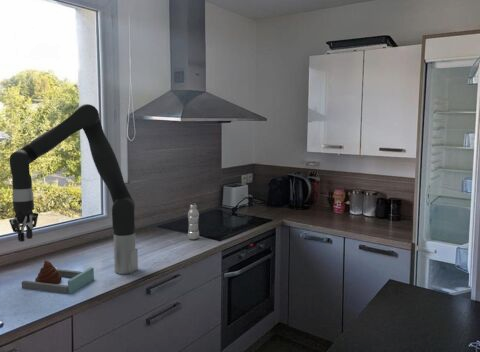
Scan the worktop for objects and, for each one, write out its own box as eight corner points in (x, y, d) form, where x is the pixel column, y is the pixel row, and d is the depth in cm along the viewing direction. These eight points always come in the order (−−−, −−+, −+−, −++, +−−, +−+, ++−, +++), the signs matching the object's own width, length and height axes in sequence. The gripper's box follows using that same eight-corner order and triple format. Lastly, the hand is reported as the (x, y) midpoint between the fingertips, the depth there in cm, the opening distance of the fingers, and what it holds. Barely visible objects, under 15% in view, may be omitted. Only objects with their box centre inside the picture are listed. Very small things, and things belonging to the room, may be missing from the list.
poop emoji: (31, 286, 166) (30, 264, 165) (40, 278, 174) (39, 257, 173) (57, 286, 167) (56, 264, 165) (64, 278, 175) (63, 257, 174)
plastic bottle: (188, 241, 230) (188, 206, 228) (187, 237, 237) (186, 203, 234) (200, 240, 232) (200, 205, 229) (198, 237, 238) (197, 203, 236)
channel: (94, 278, 174) (94, 267, 174) (70, 293, 159) (70, 281, 158) (49, 273, 180) (48, 262, 179) (21, 287, 164) (21, 275, 164)
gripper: (17, 202, 161) (20, 245, 163) (43, 196, 174) (45, 236, 177) (1, 201, 162) (4, 244, 165) (28, 195, 176) (30, 234, 178)
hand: (25, 239), depth 171 cm, fingers open, 3 cm apart
